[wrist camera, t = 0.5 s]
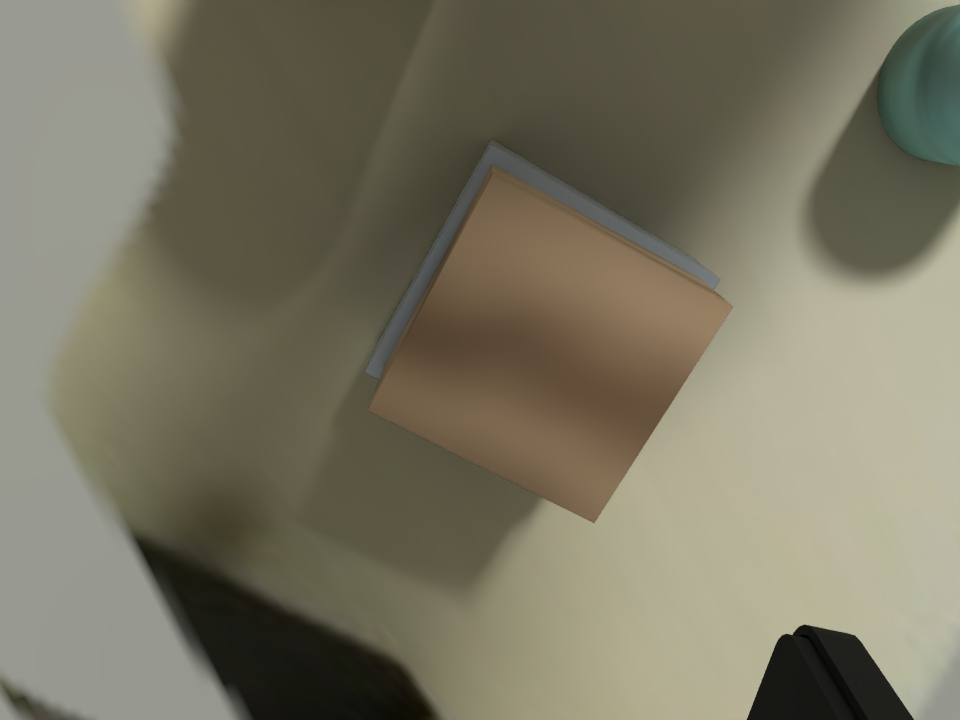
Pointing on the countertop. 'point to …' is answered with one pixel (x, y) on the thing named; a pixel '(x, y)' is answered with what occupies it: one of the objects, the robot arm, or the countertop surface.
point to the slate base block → (544, 183)
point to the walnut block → (546, 346)
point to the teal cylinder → (924, 88)
